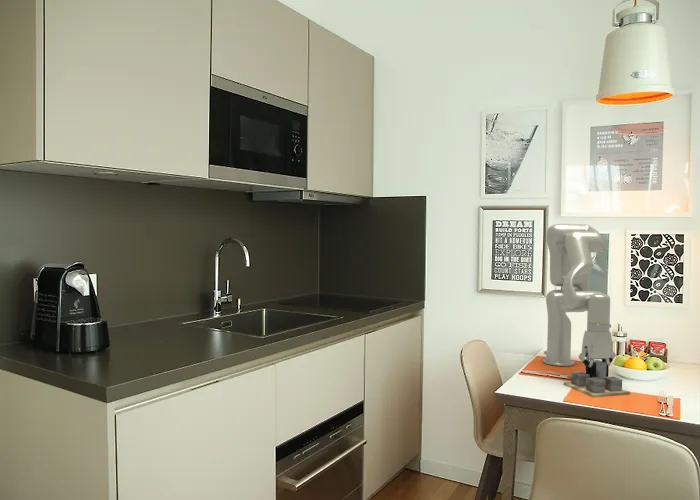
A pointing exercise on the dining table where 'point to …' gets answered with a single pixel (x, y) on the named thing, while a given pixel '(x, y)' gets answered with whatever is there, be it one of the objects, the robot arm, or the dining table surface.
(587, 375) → the board
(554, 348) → the robot arm
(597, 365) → the dark gray rectangular block
